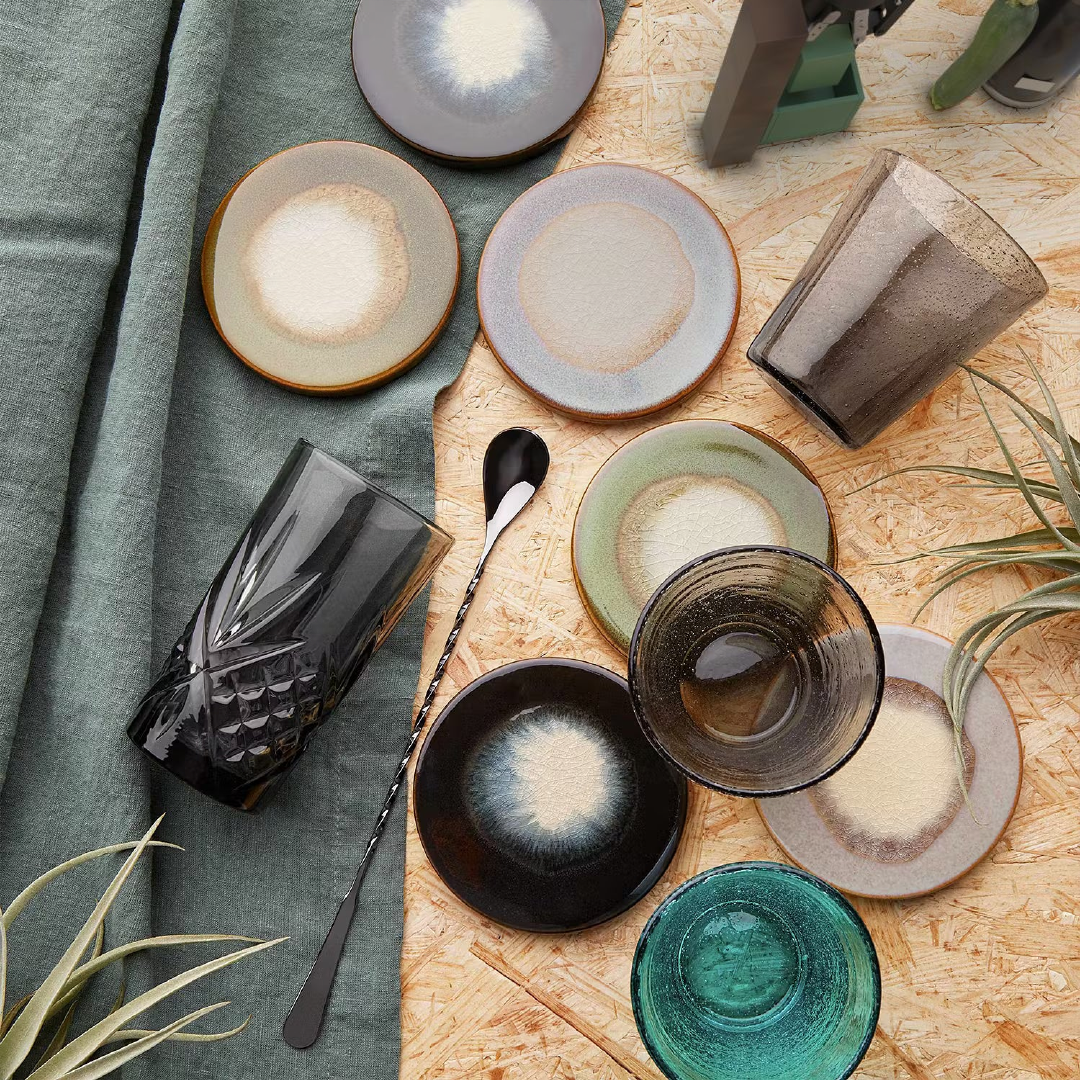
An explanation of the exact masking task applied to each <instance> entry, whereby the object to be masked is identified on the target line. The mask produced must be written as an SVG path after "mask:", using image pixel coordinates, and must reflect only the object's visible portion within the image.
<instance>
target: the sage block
mask: <svg viewBox="0 0 1080 1080" xmlns="http://www.w3.org/2000/svg"><path fill="white" fill-rule="evenodd" d="M856 52H857V51H856V50H855V47H854V43H853V39H852V35H851V31H850V27H849V23H848V24H834V25H831V26H828V27H826V28H825V29H824V30H823V31H822V32H821V33H820V34H819V35H818V37H817V38H816V39H815V40H814V41H813V42H806V43H805V45H804V47H803V49H802V51H801V54H800V56H799V58H798V60H797V62H796V64H795V67H794V69H793V71H792V73H791V75H790V77H789V79H788V82H787V84H786V86H787V90H788V93H793V92H798V91H804V90H810V89H816V88H822V87H827V86H833V85H838V83H839V82H840V80H841V78H842V76H843V74H844V73H845V71H846V69H847V67H848V65H849V64H850V62H851V60H852V58H853V57H854V55H855V56H856Z"/></svg>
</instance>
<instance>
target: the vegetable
mask: <svg viewBox="0 0 1080 1080" xmlns="http://www.w3.org/2000/svg"><path fill="white" fill-rule="evenodd" d="M1038 15H1039V8H1038V4H1037V0H994V1H992V3H991V4H990V6H989V8H988V9H987V11H986V12H985V14H984V16H983V18H982V19H981V22H980V24H979V27H978V29H977V31H976V33H975V35H974V39H973V41H971V43H970V45H969V46H968V48H967V49H966V50H965V51H964V52H963V53H962V54H961V55H960V56H959V57H958V58H956V59H955V60H954V61H953V62H952V63H951V65H950V66H949V67H948V68H947V69H946V70H945V71H944V72H943V73H942V74H941V76H940V77H938V79H937V80H936V82H935V84H934V86H932V87H931V88H930V89H929V90H930V91H929V94H930V97H931V104H932V105H934V110H940V109H941V110H942V109H943V108H945V109H946V108H951V107H954V106H956V105H958V104H960V103H962V102H963V101H965V100H967V99H968V98H969V97H971V96H972V95H973V94H975V93H976V92H978V90H979V89H980V88H982V87H983V86H982V85H983V84H984V83H985V82H986V81H987V80H988V79H989V78H990V77H991V76H992V75H993V74H994V73H995V72H996V71H997V70H998V69H999V68H1000V67H1001V66H1002V65H1003V64H1004V63H1005V62H1006V61H1007V60H1008V59H1009V58H1010V57H1011V56H1012V55H1013V54H1014V53H1015V52H1016V51H1017V50H1018V49H1019V48H1020V46H1021V45H1022V44H1023V43H1024V41H1025V40H1026V39H1027V37H1028V36H1029V35H1030V33H1031V31H1032V30H1033V28H1034V25H1035V23H1036V21H1037V18H1038Z"/></svg>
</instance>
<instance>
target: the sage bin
mask: <svg viewBox="0 0 1080 1080" xmlns="http://www.w3.org/2000/svg"><path fill="white" fill-rule="evenodd" d="M861 79H862V78H861V76H860V71H859V67H858V63H857V58H856V54H855V55H854V57H853V58H852V60H851V62H850V64H849V65H848V67H847V69H846V71H845V73H844V74H843V76H842V78H841V80H840V82H839V83H838V85H833V86H827V87H822V88H816V89H810V90H804V91H798V92H793V93H788V90H787V86H785V88H784V90H783V92H782V95H781V97H780V99H779V101H778V103H777V105H776V108H775V110H774V112H773V114H772V116H771V118H770V120H769V123H768V125H767V127H766V129H765V131H764V133H763V136H762V138H761V140H760V142H759V144H758V146H759V145H767V144H772V143H778V142H783V141H784V142H785V141H789V140H795V139H801V138H807V137H812V136H818V135H824V134H830V133H836V132H842V131H846V130H847V128H848V127H849V125H850V124H851V122H852V120H853V119H854V117H855V116H856V114H857V112H858V111H859V109H860V107H862V105H863V103H864V101H865V99H866V96H865V92H864V88H863V83H862V80H861Z"/></svg>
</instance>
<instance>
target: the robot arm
mask: <svg viewBox="0 0 1080 1080" xmlns="http://www.w3.org/2000/svg"><path fill="white" fill-rule="evenodd" d="M801 1H802V6H803V10H804V14H805V18H806V23H807V27H808V31H809V36H808V38H807V41H806V42H813V41H814V40H815V39H816V38H817V37H818V35H819V34H820V33H821V32H822V31H823V30H824V29H825V28H826V27H828V26H831V25H834V24H848V23H849V27H850V31H851V35H852V39H853V43H854V47H855V51H856V50H857V48H858V46H859V45H860V44H862V43H864V42H865V41H866V40H867V36H869V35H873V36H874V37H875V38H879V37H882V36H884V35H886V34H887V33H888V31H890V29H891V28H893V26H894V25H895V24H896V23H897V21H898V20H899V19H901V17H902V16H903V15H904V14H905V13H906V11H907V10H908V9H909V8H910V7H911V6H912V5H913V4H914V3H915V1H916V0H801ZM1037 4H1038V8H1039V15H1038V18H1037V21H1036V23H1035V25H1034V28H1033V30H1032V31H1031V33H1030V35H1029V36H1028V37H1027V39H1026V40H1025V41H1024V43H1023V44H1022V45H1021V46H1020V48H1019V49H1018V50H1017V51H1016V52H1015V53H1014V54H1013V55H1012V56H1011V57H1010V58H1009V59H1008V60H1007V61H1006V62H1005V63H1004V64H1003V65H1002V66H1001V67H1000V68H999V69H998V70H997V71H996V72H995V73H994V74H993V75H992V76H991V77H990V78H989V79H988V80H987V81H986V82H985V83H984V84H983V85H982V86H981V87H982V88H983V89H984V90H985V92H986V93H988V95H989V96H991V98H993V99H995V100H996V101H997V102H999V103H1001V104H1003V105H1005V106H1008V107H1013V108H1018V109H1028V108H1034V107H1038V106H1040V105H1043V104H1045V103H1047V102H1048V101H1049V100H1051V99H1053V97H1055V95H1056V94H1057V93H1059V91H1060V90H1061V89H1062V88H1066V87H1069V86H1070V85H1071V84H1072V83H1073V82H1074V81H1075V80H1076V79H1077V78H1078V77H1079V76H1080V0H1037ZM884 11H885V14H884Z"/></svg>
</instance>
